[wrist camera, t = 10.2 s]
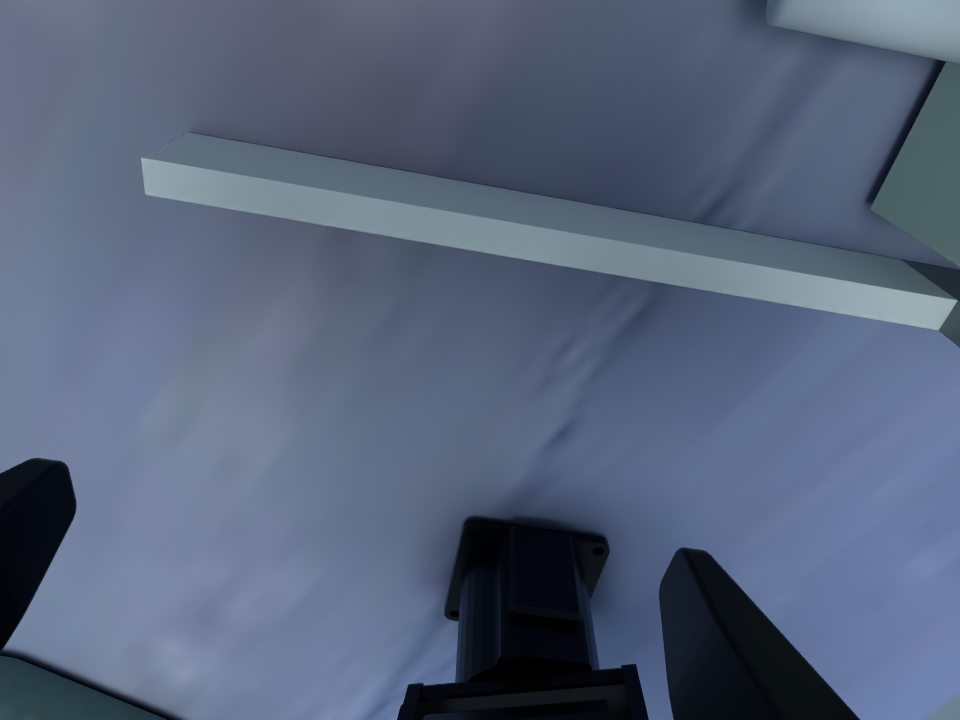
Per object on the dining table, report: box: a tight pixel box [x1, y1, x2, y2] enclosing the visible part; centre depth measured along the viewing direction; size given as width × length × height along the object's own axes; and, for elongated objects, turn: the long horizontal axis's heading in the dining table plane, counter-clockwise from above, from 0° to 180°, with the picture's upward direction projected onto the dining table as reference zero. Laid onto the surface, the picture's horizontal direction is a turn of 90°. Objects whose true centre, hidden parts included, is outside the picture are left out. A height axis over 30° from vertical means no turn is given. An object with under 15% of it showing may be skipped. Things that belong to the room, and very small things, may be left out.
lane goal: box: [141, 132, 960, 347], centre depth 14 cm, size 15×34×7 cm, turn 80°
